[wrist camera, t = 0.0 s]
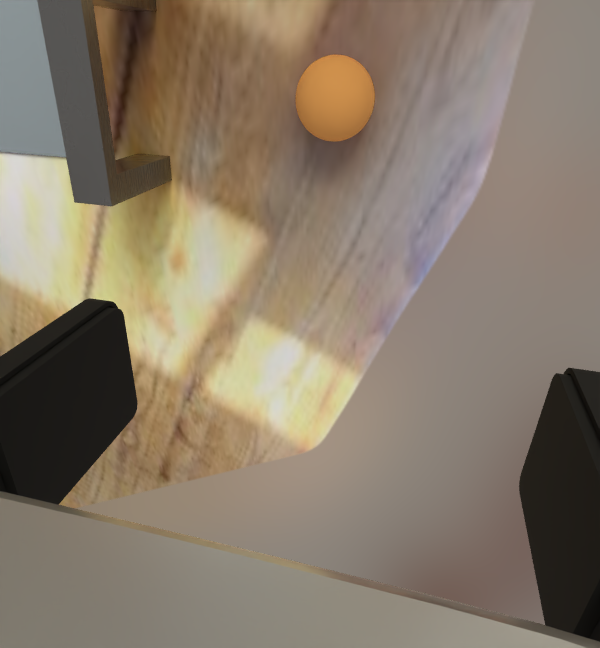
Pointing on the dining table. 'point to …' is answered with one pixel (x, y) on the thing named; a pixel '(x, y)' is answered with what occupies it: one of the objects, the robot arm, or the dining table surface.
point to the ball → (335, 98)
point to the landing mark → (26, 84)
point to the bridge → (92, 105)
